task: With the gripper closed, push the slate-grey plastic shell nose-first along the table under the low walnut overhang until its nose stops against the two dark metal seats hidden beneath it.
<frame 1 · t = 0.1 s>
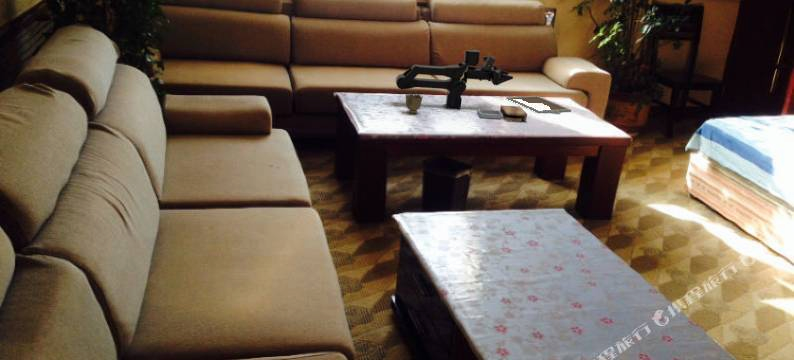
hand: (510, 75, 297), 17 cm above the table, tool horizontal, fingers open, 9 cm apart
cup: (412, 113, 286), on the table
overhang: (512, 117, 291), on the table
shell: (489, 116, 290), on the table
grey picture frame: (539, 107, 317), on the table
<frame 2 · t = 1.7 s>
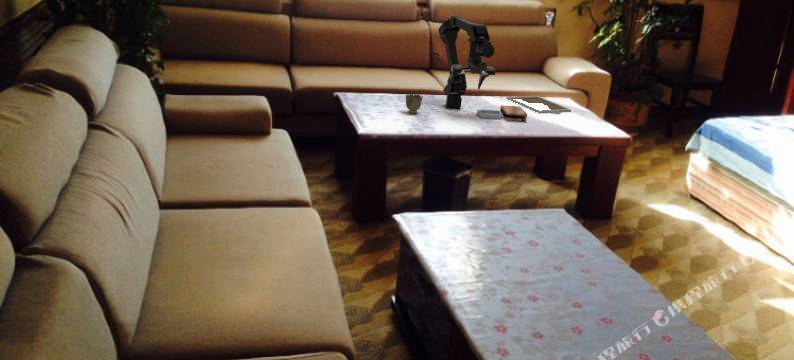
hand: (471, 89, 285), 12 cm above the table, tool pointing down, fingers open, 6 cm apart
nothing on the table moved.
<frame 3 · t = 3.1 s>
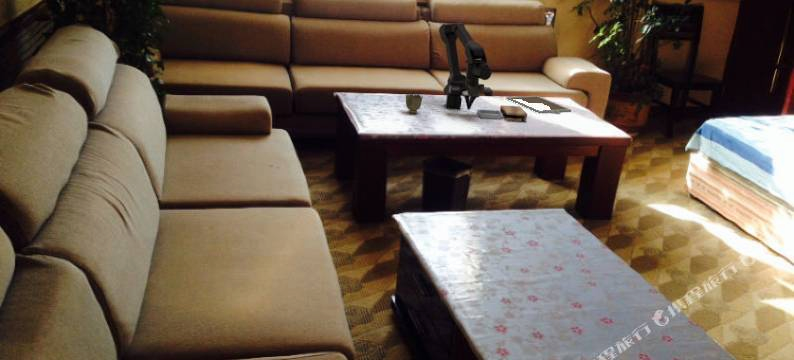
hand: (468, 109, 289), 3 cm above the table, tool pointing down, fingers closed
nothing on the table moved.
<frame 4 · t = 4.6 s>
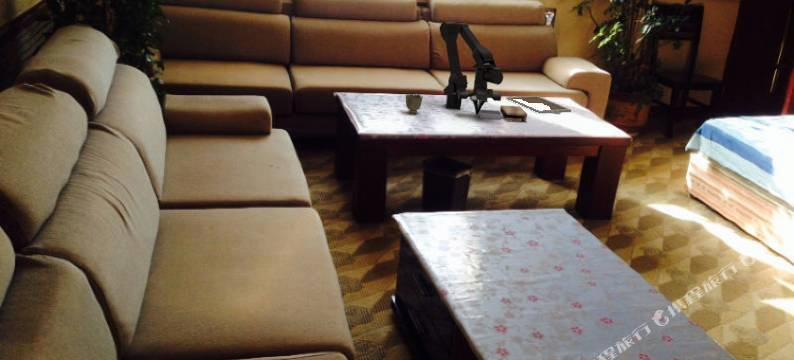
hand: (476, 114, 290), 1 cm above the table, tool pointing down, fingers closed
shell: (489, 116, 290), on the table, touching gripper
everything else where it was.
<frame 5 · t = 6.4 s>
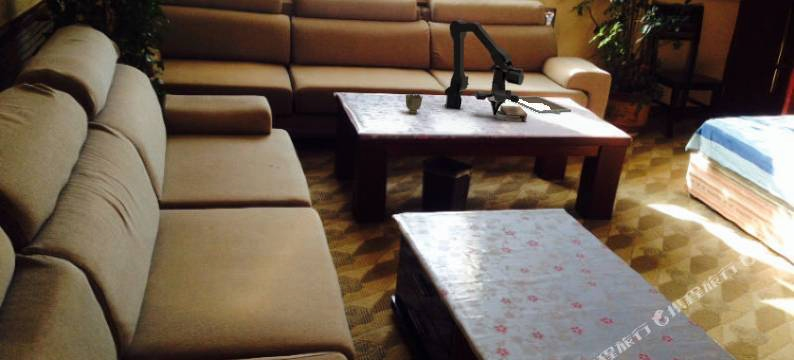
hand: (494, 115, 290), 1 cm above the table, tool pointing down, fingers closed
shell: (506, 117, 291), on the table, touching gripper
everything else where it was.
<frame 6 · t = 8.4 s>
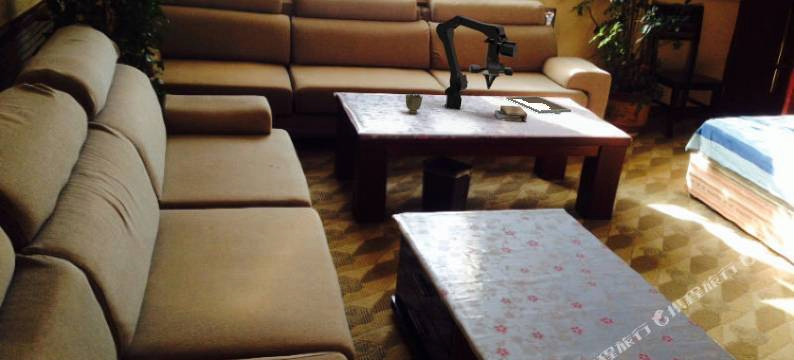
hand: (488, 89, 289), 12 cm above the table, tool pointing down, fingers closed
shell: (506, 117, 291), on the table
everything else where it was.
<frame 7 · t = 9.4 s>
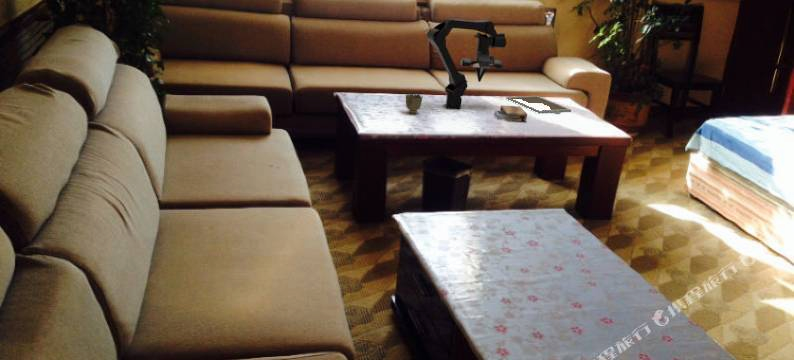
hand: (479, 81, 302), 12 cm above the table, tool pointing down, fingers closed
nothing on the table moved.
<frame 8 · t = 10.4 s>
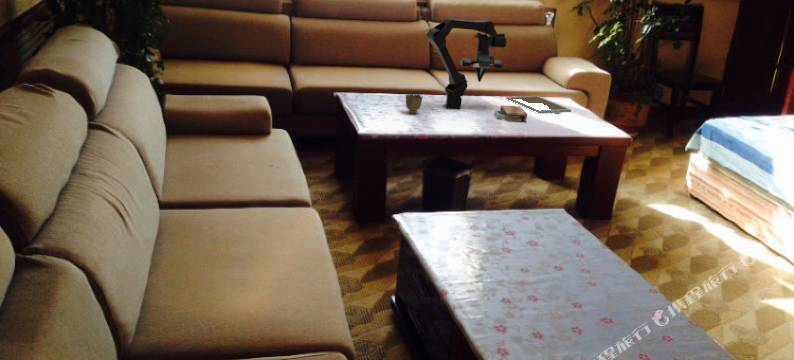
hand: (479, 81, 302), 12 cm above the table, tool pointing down, fingers closed
nothing on the table moved.
at the end: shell 0.2 cm from the target spot, on the table; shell tilted 0°; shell moved 7.9 cm from its start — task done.
